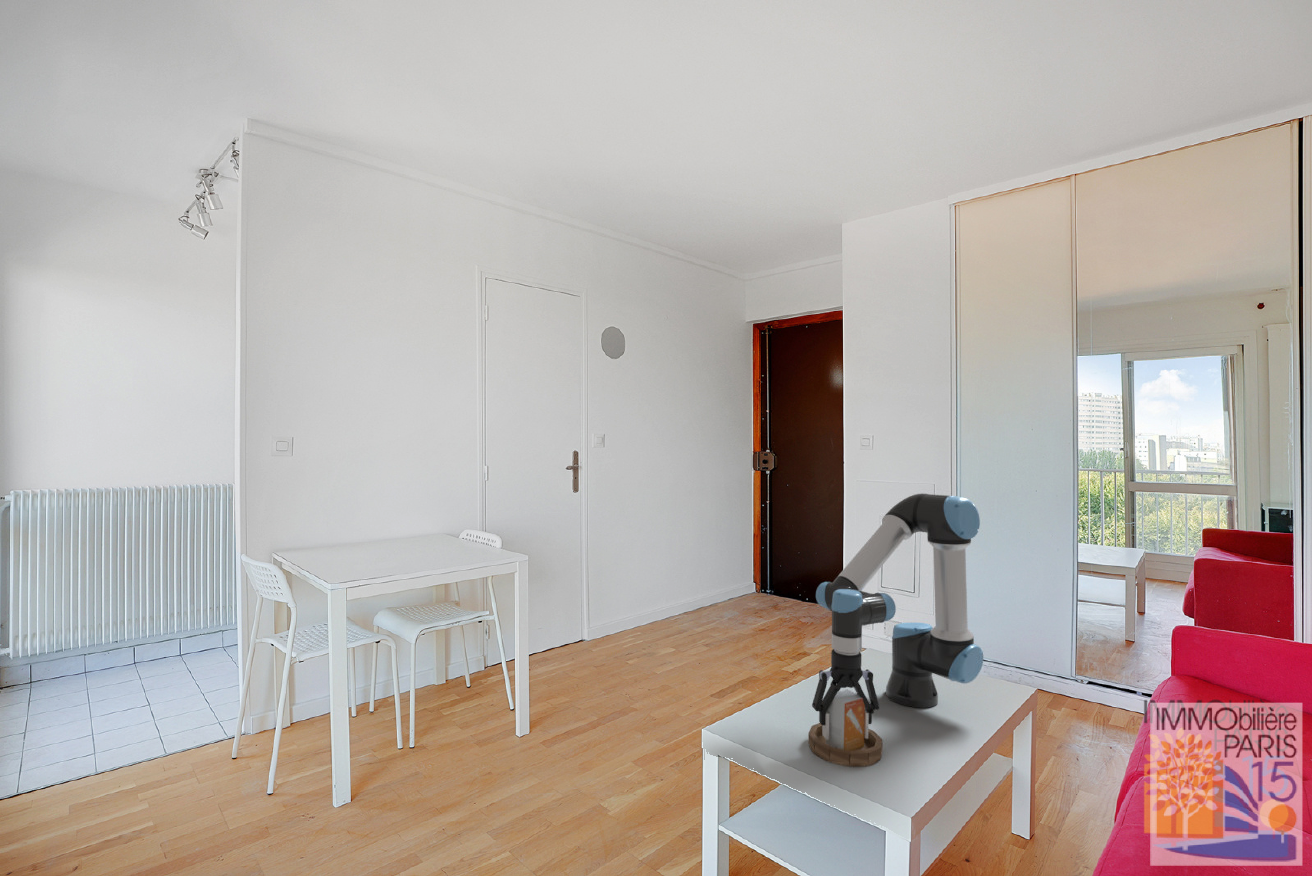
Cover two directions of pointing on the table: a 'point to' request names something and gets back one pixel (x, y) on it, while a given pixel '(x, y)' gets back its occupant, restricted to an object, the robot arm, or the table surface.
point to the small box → (846, 721)
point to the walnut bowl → (844, 757)
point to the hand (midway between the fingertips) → (845, 736)
